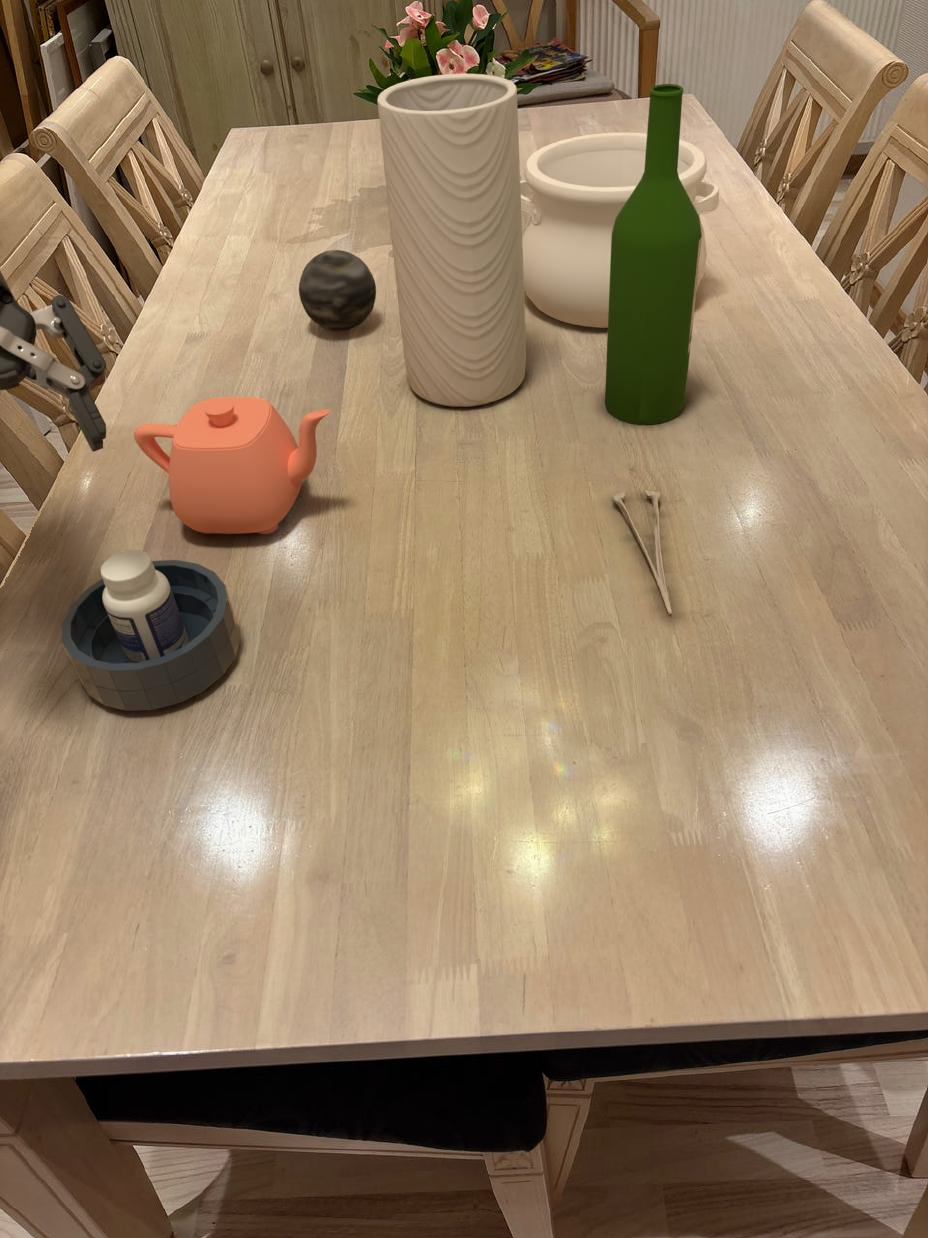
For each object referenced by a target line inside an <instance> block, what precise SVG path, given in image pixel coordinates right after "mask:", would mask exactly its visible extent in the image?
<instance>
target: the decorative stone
mask: <svg viewBox="0 0 928 1238" xmlns="http://www.w3.org/2000/svg"><path fill="white" fill-rule="evenodd" d="M298 296H299V300H300V302H301V303H300V304H301V305H302V308H303V310H304V311H305V313H306V315H307V316H308V317H309V318H310V320H311V321H313V322H314V323H316V324H317V325H318V326H320V328H323V329H326V330H329V331H333V332H343V331H350V330H352V329H355V328H356V327H359V326H360V325H362V324H363V323H364V322H365V321H366V320H367V318H368V317H369V316H370V315H371V313H372V311H373V309H374V306H375V303H376V299H377V298H376V297H377V286H376V280H375V278H374V275H373V273H372V272H371V270H370V268H369V266H368V265H367V263H365V262H364V261H363V260H362V258H360V257H358V256H357V255H355V254H354V253H352V252H349V251H346V250H343V249H342V250H340V249H330V250H326V251H323V252H321V253H319V254H317V255H315V256H314V257H313V258H311V259H310V260H309V261H308V263H307V264H306V265H305V266H304V268H303V270H302V273H301V275H300V280H299V283H298Z"/></svg>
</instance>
